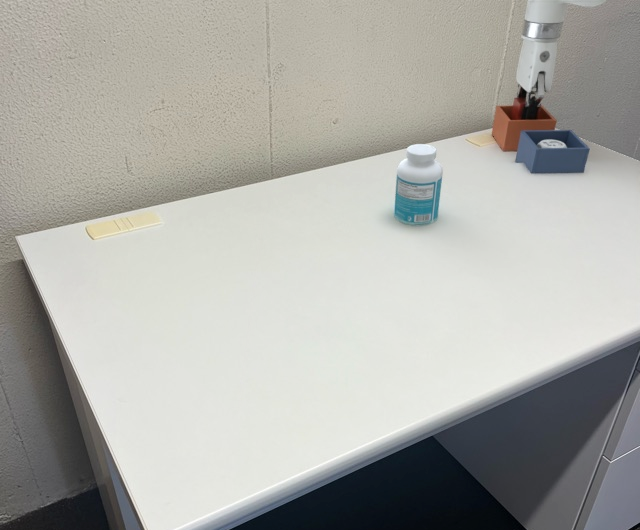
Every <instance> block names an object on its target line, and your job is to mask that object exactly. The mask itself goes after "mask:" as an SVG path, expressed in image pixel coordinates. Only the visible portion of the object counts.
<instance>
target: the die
mask: <svg viewBox="0 0 640 530" xmlns="http://www.w3.org/2000/svg"><path fill="white" fill-rule="evenodd" d="M536 146H537V147H538V148H567V147H566V145H565V144H564V143H563V142H561V141H558V140H550V139H549V140H542V141H541V142H539V143H538V144H537V145H536Z"/></svg>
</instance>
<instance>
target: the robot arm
mask: <svg viewBox="0 0 640 530" xmlns="http://www.w3.org/2000/svg"><path fill="white" fill-rule="evenodd" d="M526 2H527V3H526V8H525V12H524V19H523V24H522V29H521V35H520V37H521V39H523V40H522V44H521V48H520V53H519V58H518V62H517V68H516V74H515V76H516V77H515V80H516V82H517V84H518V85H517V92H516V98H525V97H526V103H525V106H523V110H522V115H521V120H536V119H537V114H538V109H539V107H540V103H541V101H542V100H543V99H544V98H545V93H549V92H550V91H551V89H552V87H553V86H552V85H553V81H554V74H555V68H556V62H557V54H558V41H560V40H561V35H562V30H563V25H564V21H565V16H566V12H567V7H568V4H571V5H576V6H579V7H583V8H584V7H585V8H593V7H598V6H600V5H602V4H604V3H605V2H607V0H527V1H526ZM533 89H535V90H533ZM531 95H532V96H531ZM530 97H532V98H531V99H530Z"/></svg>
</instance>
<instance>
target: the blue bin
mask: <svg viewBox="0 0 640 530" xmlns="http://www.w3.org/2000/svg"><path fill="white" fill-rule="evenodd" d="M549 139H550V140H558V141H561V142H563V143H564V144H565V145H566V147H567V148H538V147H537V146H536V145H537V144H538V143H539V142H541V141H542V140H549ZM590 150H591V148H590V147H589V146H588V145H587V143H585V142H584V141H583V140H582V139H581V138H580V137H579V136H578V135H577V134H576V132H574V131H573V130H572V129H555V130H527V131H521V134H520V139H519V145H518V150H517V151H516V156H515V159H514V160H515V161H514V162H515V164H523V165H524V166H525V167H526V168H527V170H528V171H529V173H530V174H584V173H585V170H586V169H585V168H586V165H587V161H588V157H589V153H590Z"/></svg>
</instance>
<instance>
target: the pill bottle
mask: <svg viewBox="0 0 640 530" xmlns="http://www.w3.org/2000/svg"><path fill="white" fill-rule="evenodd" d="M405 155H406V158H404V159H402V160H401V161H400V162H399V163H398V164H397V168H396V177H395V178H396V180H395V194H394V211H393V216H394V218H395V219H396V220H397V221H398V222H400V223H402V224H405V225H407V226H414V227H418V226H419V227H420V226H429V225H431V224H434V223H435V222H436V221H437V220H438V217H439V209H440V201H441V200H440V199H441V190H442V184H443V183H442V181H443V174H444V173H443V172H444V169H443V166H442V164H441V163H440V162H439V161H438V160H437V159H436V158H437V148H436V147H435V146H434V145H431V144H426V143H415V144H411V145H409V146H408V147H407V148H406V154H405Z"/></svg>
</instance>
